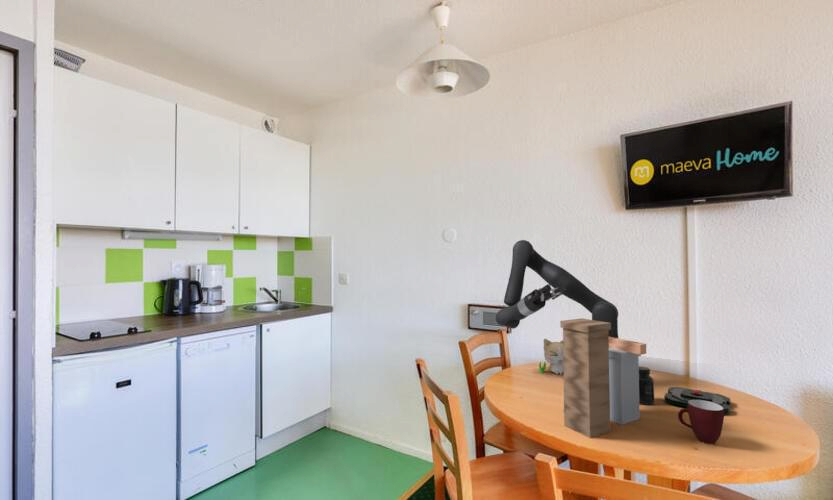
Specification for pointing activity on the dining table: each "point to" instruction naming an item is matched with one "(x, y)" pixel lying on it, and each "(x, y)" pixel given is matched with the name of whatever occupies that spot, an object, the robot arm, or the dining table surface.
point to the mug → (704, 420)
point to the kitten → (553, 356)
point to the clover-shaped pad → (695, 397)
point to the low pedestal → (623, 386)
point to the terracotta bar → (627, 346)
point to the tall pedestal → (586, 376)
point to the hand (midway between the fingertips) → (557, 286)
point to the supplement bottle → (645, 387)
